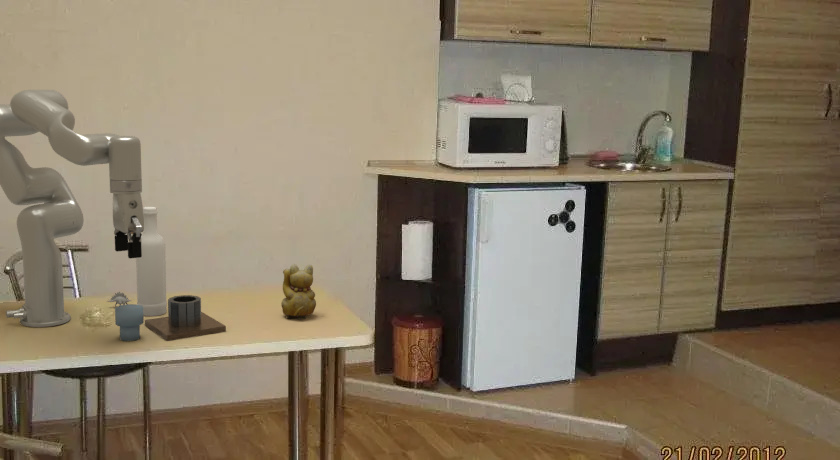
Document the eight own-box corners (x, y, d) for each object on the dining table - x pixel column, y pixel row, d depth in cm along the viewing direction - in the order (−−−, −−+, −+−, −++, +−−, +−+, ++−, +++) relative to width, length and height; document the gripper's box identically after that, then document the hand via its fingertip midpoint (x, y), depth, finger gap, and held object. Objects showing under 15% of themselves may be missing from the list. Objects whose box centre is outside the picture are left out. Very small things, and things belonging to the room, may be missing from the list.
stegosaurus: (105, 307, 249) (105, 291, 248) (131, 305, 252) (130, 289, 251) (106, 309, 247) (106, 293, 246) (132, 307, 250) (132, 291, 249)
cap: (121, 343, 217) (120, 312, 216) (112, 336, 222) (111, 306, 221) (147, 339, 221) (147, 309, 220) (138, 332, 226) (137, 303, 225)
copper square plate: (166, 340, 220) (166, 310, 219) (144, 325, 233) (144, 296, 231) (225, 331, 230) (225, 302, 228) (201, 316, 242) (201, 289, 241)
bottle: (158, 317, 240) (155, 210, 235) (132, 315, 242) (129, 208, 237) (171, 310, 248) (169, 206, 243) (146, 307, 250) (143, 204, 244)
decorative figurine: (314, 312, 250) (314, 261, 247) (317, 320, 242) (318, 268, 240) (280, 314, 248) (280, 262, 245) (283, 322, 240) (283, 269, 237)
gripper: (153, 189, 210) (155, 258, 213) (129, 181, 224) (131, 246, 227) (122, 191, 206) (124, 262, 209) (99, 183, 219) (102, 249, 222)
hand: (128, 254), depth 218 cm, fingers open, 9 cm apart
